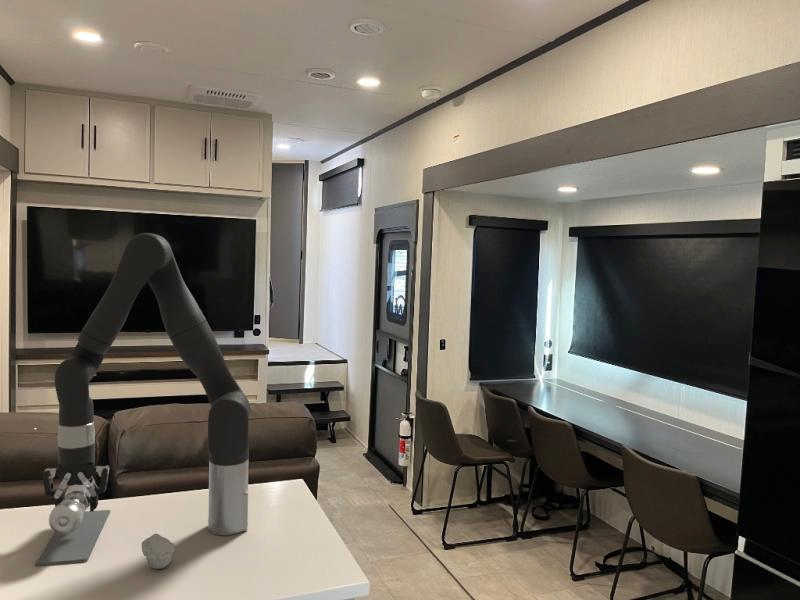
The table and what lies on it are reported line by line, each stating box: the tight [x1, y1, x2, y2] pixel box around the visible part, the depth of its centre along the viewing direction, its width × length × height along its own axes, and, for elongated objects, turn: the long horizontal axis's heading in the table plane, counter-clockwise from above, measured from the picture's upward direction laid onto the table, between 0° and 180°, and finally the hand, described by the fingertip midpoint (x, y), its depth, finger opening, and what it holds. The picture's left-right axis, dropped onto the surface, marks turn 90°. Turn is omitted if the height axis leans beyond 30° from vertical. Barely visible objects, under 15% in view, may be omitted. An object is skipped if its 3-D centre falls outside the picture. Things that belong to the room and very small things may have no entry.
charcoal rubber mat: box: [34, 509, 111, 567], centre depth 140 cm, size 10×24×1 cm, turn 15°
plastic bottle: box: [48, 484, 91, 534], centre depth 139 cm, size 6×7×20 cm
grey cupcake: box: [141, 533, 176, 570], centre depth 129 cm, size 6×7×7 cm
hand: (76, 510), depth 141 cm, fingers closed on plastic bottle, 6 cm apart
